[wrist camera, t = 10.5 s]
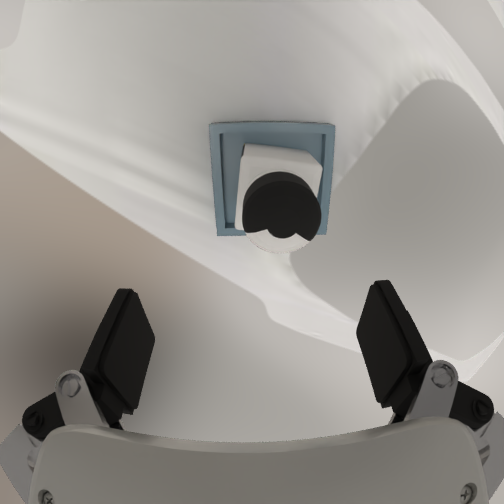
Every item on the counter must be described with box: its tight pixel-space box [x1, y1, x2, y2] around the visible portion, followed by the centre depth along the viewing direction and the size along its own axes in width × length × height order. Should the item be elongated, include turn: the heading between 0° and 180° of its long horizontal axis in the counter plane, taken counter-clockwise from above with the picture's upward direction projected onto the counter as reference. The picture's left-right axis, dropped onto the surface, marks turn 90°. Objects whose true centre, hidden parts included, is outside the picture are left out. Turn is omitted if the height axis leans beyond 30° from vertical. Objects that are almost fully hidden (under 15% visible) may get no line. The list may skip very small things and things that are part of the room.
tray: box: [209, 121, 335, 236], centre depth 30 cm, size 13×13×2 cm
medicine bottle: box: [235, 143, 322, 253], centre depth 25 cm, size 7×7×12 cm
